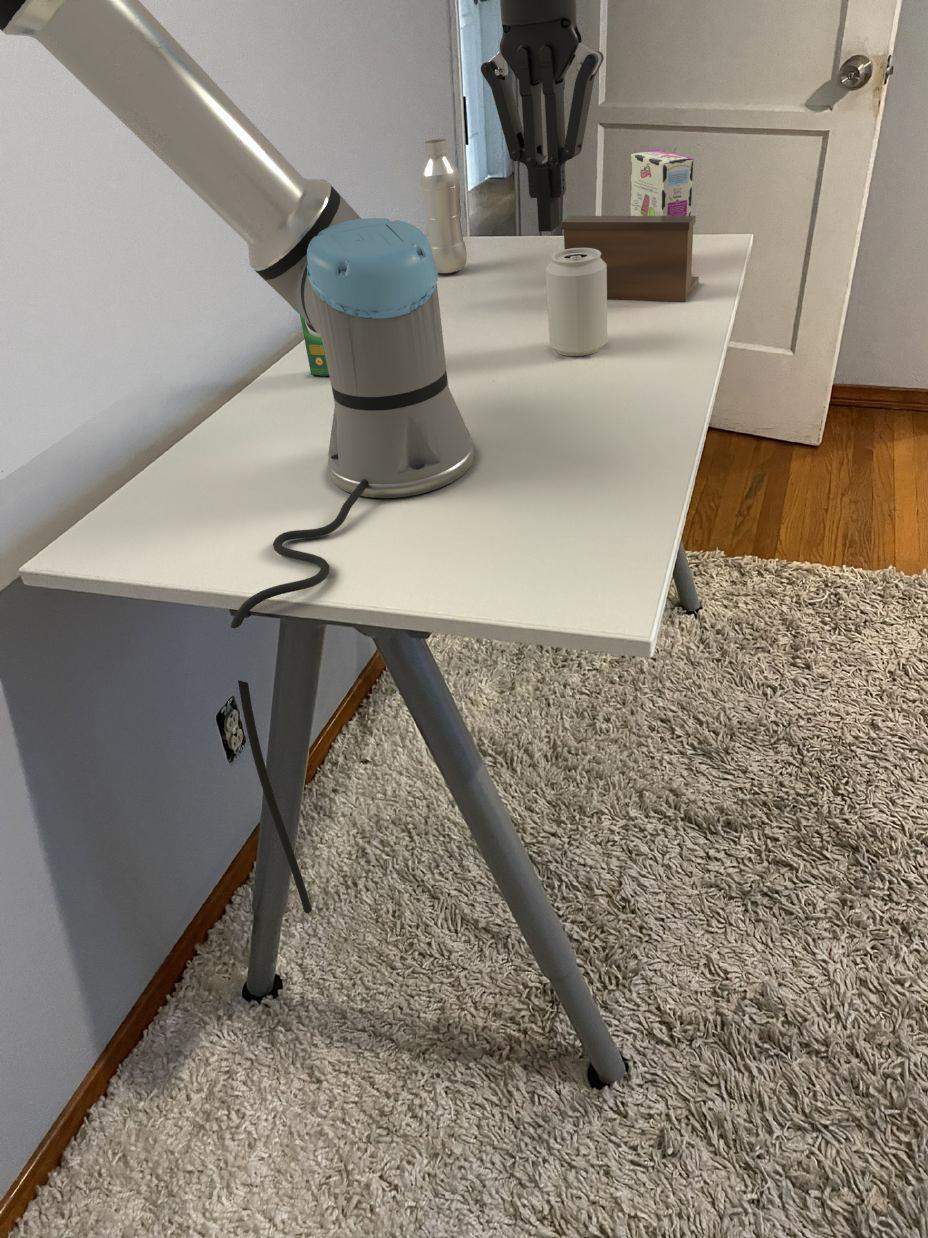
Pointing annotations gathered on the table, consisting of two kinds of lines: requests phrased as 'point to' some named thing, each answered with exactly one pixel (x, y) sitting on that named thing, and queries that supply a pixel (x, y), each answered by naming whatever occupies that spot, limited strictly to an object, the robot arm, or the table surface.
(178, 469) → the table surface
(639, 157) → the candy bar box
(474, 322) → the table surface
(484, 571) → the table surface
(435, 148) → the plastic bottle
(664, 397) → the table surface
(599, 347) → the can
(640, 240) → the wooden box
